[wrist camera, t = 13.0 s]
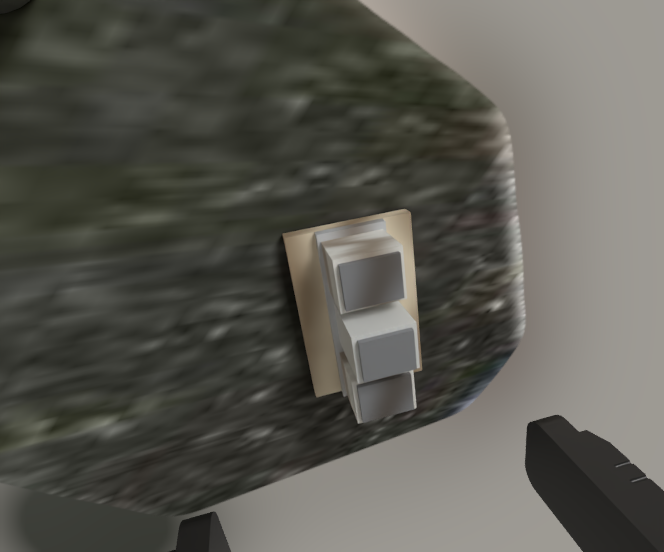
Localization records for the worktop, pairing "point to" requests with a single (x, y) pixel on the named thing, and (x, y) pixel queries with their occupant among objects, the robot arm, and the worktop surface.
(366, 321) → the block
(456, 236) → the worktop surface
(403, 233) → the rail board
